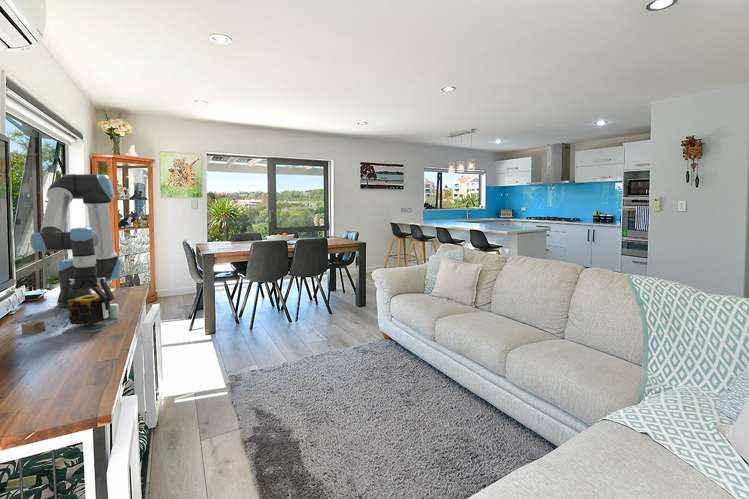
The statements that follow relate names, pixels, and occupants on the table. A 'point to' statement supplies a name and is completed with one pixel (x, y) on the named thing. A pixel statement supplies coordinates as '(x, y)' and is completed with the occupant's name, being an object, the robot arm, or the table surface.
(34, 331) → the walnut block
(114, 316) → the sage capsule
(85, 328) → the coaster
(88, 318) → the candle
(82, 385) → the table surface
